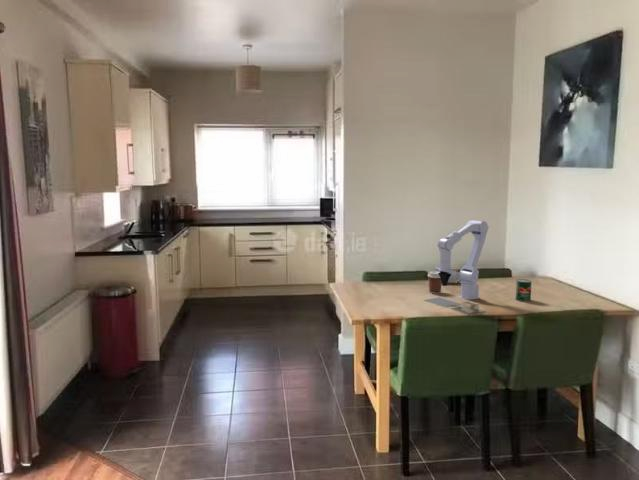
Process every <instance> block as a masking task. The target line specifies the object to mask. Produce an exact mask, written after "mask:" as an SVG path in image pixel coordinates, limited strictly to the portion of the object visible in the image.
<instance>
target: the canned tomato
mask: <svg viewBox="0 0 639 480" xmlns="http://www.w3.org/2000/svg"><path fill="white" fill-rule="evenodd" d="M532 282H533V281H532V280H531V279H527V278H526V279H525V278H517V279H516V282H515V283H516V285H515V301H517V300H518V302H523V301H528V302H531V299H532V298H531V297H532Z"/></svg>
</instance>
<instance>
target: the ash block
mask: <svg viewBox="0 0 639 480" xmlns="http://www.w3.org/2000/svg"><path fill="white" fill-rule="evenodd" d="M460 304H461V310H462V311H465V312H468V313H473V312H478V311H479V309H480V308H479V307H480V306H479V305H480V304H479V303H477V302H474V301H463V302H461V303H460Z"/></svg>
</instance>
